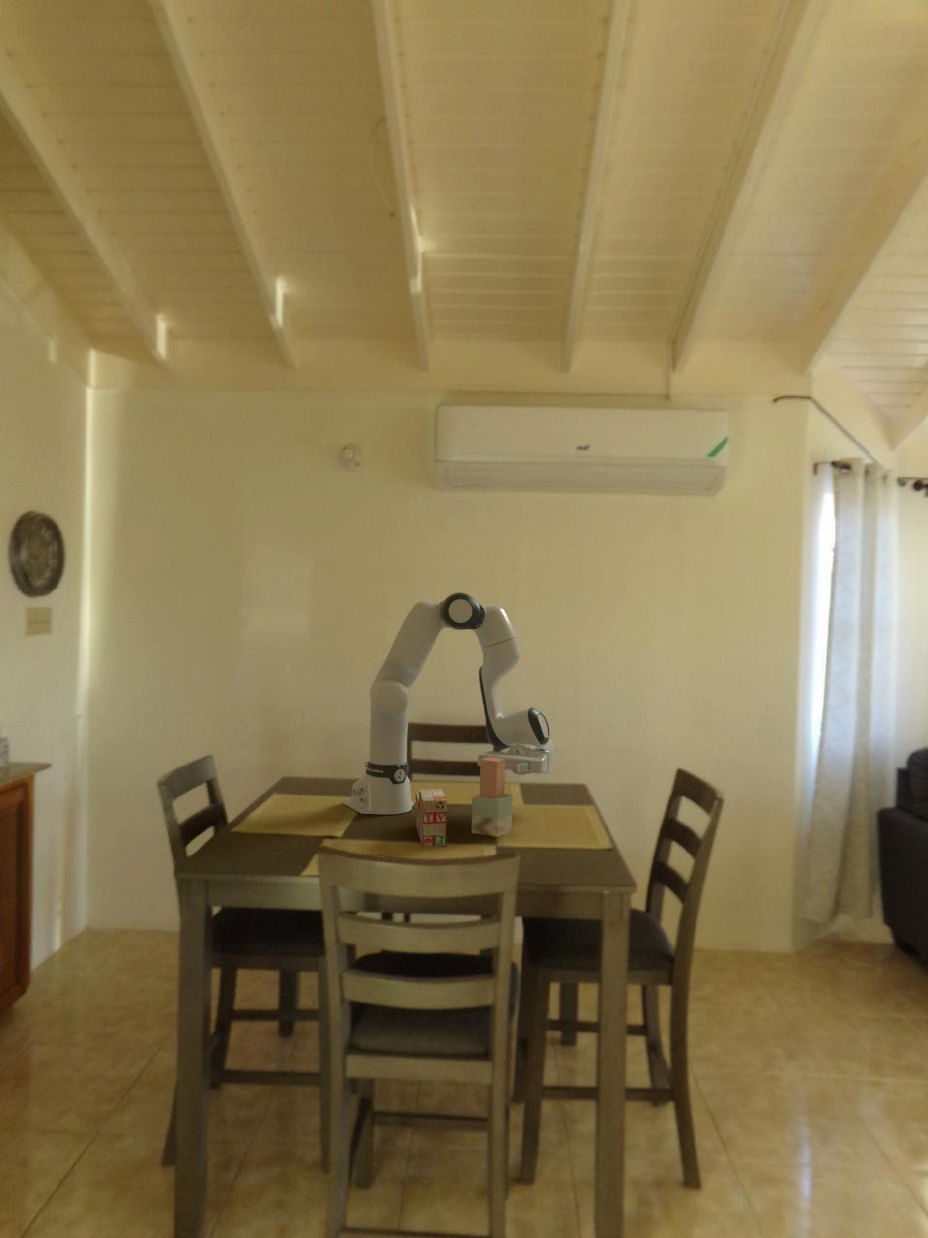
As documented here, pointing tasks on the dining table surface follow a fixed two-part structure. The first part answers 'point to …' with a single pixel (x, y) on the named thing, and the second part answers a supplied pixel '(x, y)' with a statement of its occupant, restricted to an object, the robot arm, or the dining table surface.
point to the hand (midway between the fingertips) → (500, 766)
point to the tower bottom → (491, 825)
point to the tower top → (492, 806)
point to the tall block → (492, 777)
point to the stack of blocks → (431, 817)
